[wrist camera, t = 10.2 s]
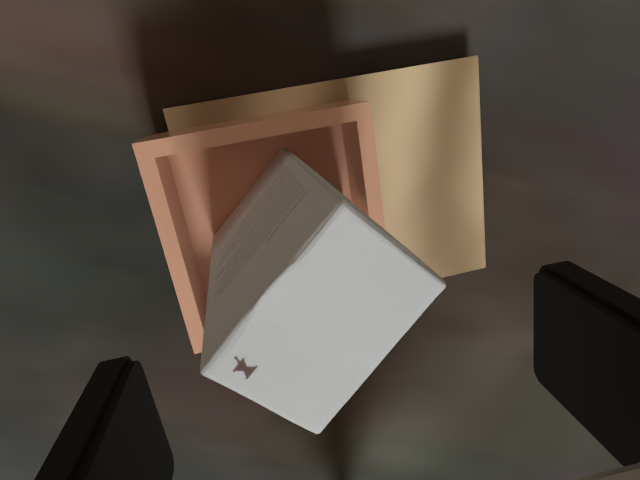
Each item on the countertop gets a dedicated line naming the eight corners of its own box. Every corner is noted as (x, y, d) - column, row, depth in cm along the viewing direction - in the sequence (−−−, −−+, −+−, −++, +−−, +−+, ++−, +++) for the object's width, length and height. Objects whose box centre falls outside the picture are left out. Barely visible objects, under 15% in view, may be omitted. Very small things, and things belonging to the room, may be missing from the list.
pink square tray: (348, 99, 23) (370, 101, 19) (371, 277, 26) (394, 306, 22) (148, 135, 21) (131, 143, 18) (199, 316, 25) (194, 354, 21)
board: (466, 57, 24) (478, 55, 23) (475, 260, 28) (485, 267, 27) (166, 108, 22) (162, 109, 21) (221, 318, 26) (221, 328, 25)
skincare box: (277, 281, 24) (315, 444, 13) (210, 237, 23) (190, 377, 12) (348, 193, 23) (455, 286, 12) (284, 142, 22) (338, 193, 11)
